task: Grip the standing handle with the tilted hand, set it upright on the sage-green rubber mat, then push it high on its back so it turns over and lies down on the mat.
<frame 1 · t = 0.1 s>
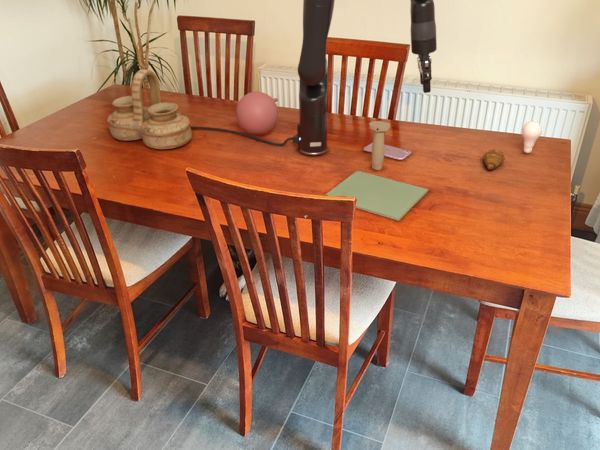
hand: (425, 88, 174), 22 cm above the table, tool pointing down, fingers open, 8 cm apart
balloon: (262, 131, 205), on the table
mobile phone: (386, 152, 187), on the table
mat: (376, 194, 161), on the table
ceramic vessel: (150, 138, 202), on the table
lightbulb: (526, 153, 184), on the table
croissant: (492, 164, 178), on the table
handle: (377, 169, 176), on the table
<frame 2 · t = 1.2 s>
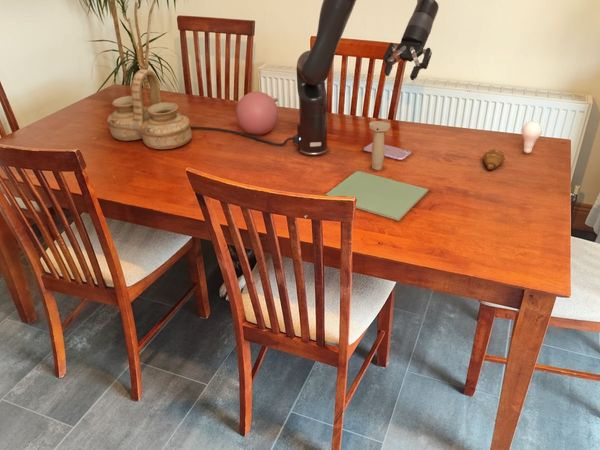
hand: (399, 76, 170), 27 cm above the table, tool tilted 45°, fingers open, 8 cm apart
nothing on the table moved.
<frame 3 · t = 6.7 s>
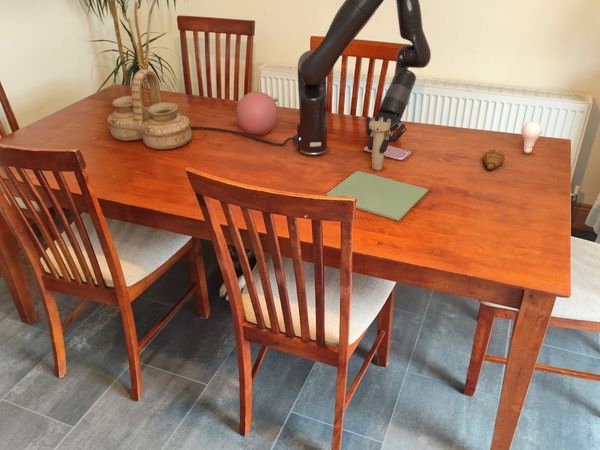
hand: (375, 150, 171), 7 cm above the table, tool tilted 45°, fingers closed on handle, 3 cm apart
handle: (377, 169, 176), on the table, touching gripper
everything else where it was.
when the fingers open (8 cm above the table, at t = 14.5 s): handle stays where it is, resting on mat.
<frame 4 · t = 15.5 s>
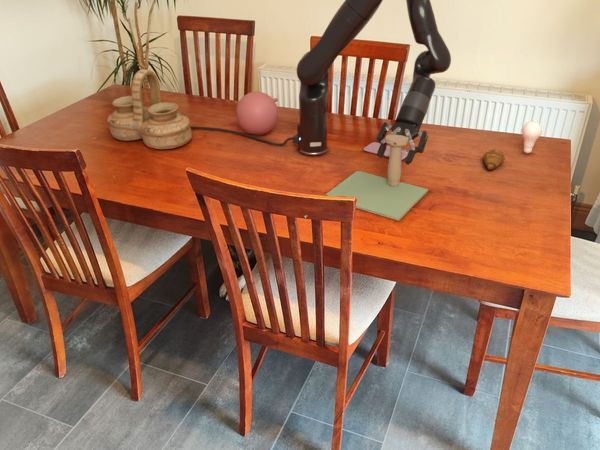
hand: (393, 160, 159), 9 cm above the table, tool tilted 45°, fingers open, 8 cm apart
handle: (393, 185, 165), point 1 cm above the table, touching mat
everything else where it was.
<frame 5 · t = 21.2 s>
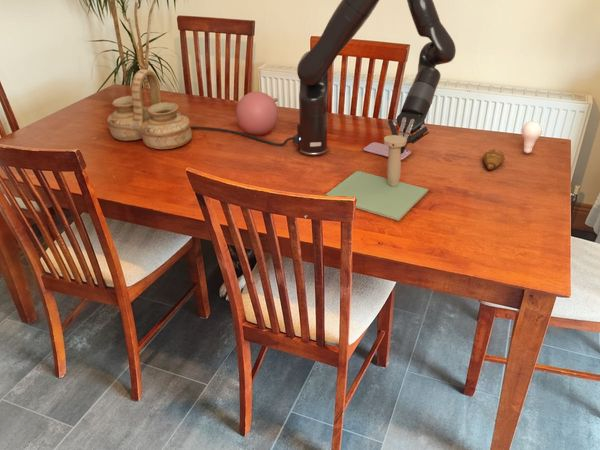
hand: (397, 153, 161), 10 cm above the table, tool tilted 45°, fingers closed
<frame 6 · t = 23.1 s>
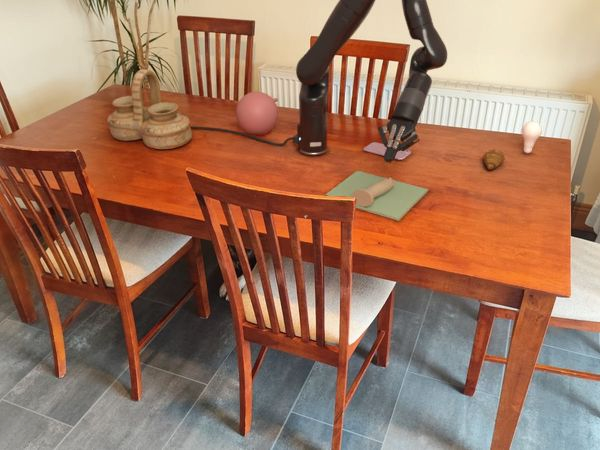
hand: (387, 161, 156), 10 cm above the table, tool tilted 45°, fingers closed
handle: (391, 181, 163), point 2 cm above the table, touching mat
everything else where it was.
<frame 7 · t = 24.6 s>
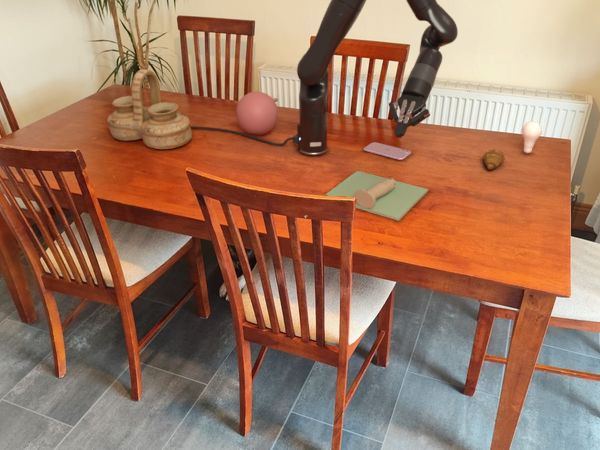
hand: (398, 136, 157), 16 cm above the table, tool tilted 45°, fingers closed
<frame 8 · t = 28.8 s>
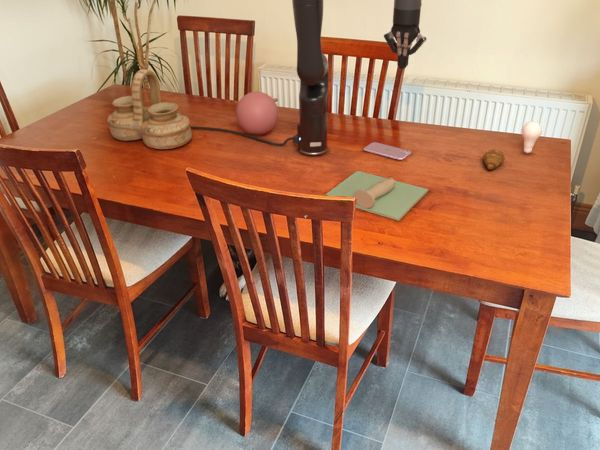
hand: (402, 67, 163), 31 cm above the table, tool pointing down, fingers closed
nothing on the table moved.
at the end: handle inside the target area on the mat (5.9 cm from its centre), point 2.5 cm above the mat's base; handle tilted 87°; the gripper is holding nothing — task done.
